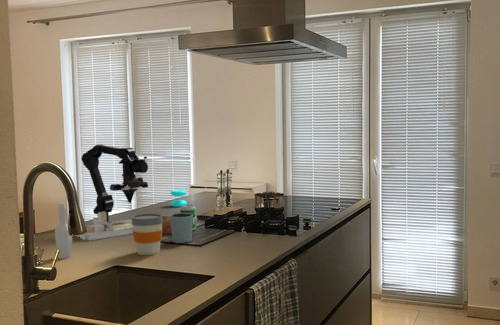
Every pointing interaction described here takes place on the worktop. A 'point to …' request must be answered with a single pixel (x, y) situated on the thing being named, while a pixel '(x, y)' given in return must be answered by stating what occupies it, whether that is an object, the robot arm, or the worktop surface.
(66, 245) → the faceted bottle
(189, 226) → the blue-grey cup
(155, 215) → the reusable coffee cup
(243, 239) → the worktop surface
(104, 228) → the board
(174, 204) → the pair of cyan domes
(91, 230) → the salmon pink block
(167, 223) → the tin
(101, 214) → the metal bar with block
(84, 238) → the box
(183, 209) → the soda can
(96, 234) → the rails
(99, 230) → the beige block
